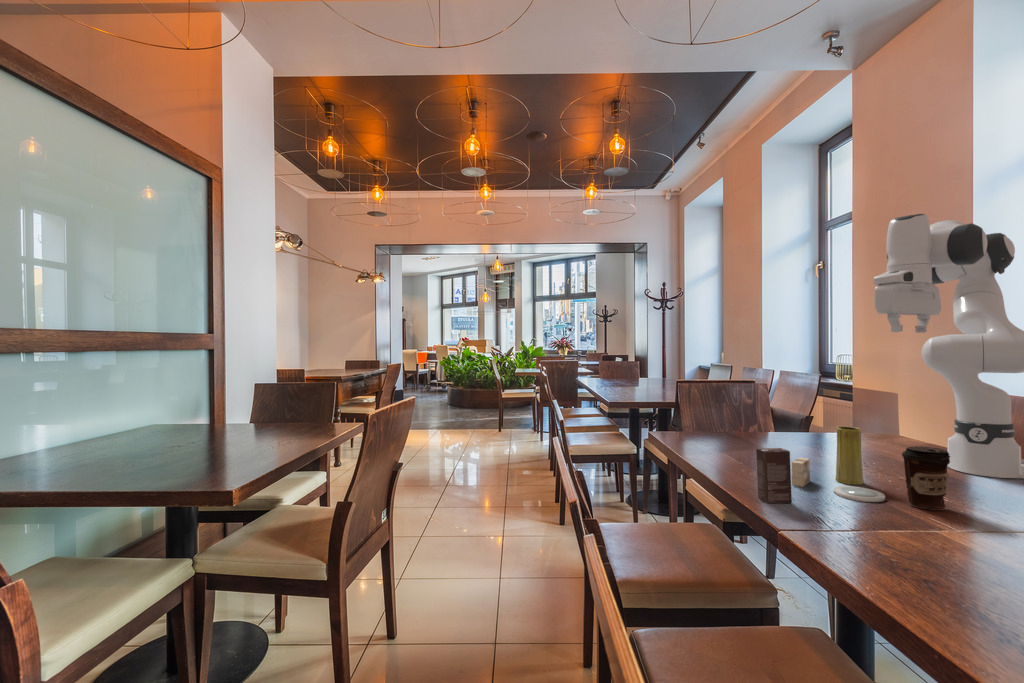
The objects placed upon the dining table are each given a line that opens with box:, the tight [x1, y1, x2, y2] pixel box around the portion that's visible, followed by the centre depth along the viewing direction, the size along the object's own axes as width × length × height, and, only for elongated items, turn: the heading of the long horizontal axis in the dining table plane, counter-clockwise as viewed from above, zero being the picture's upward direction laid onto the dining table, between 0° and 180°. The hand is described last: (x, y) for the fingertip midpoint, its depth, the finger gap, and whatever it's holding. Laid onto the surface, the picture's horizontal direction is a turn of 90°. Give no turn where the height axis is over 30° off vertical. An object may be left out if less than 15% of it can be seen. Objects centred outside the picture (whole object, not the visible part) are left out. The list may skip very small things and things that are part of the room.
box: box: [755, 447, 793, 504], centre depth 111 cm, size 6×4×12 cm
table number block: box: [791, 456, 811, 488], centre depth 124 cm, size 7×3×6 cm, turn 134°
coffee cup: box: [901, 445, 950, 511], centre depth 106 cm, size 9×8×13 cm
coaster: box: [833, 485, 886, 503], centre depth 114 cm, size 10×10×1 cm
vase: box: [835, 426, 865, 486], centre depth 125 cm, size 6×6×14 cm
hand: (909, 332), depth 120 cm, fingers open, 8 cm apart
